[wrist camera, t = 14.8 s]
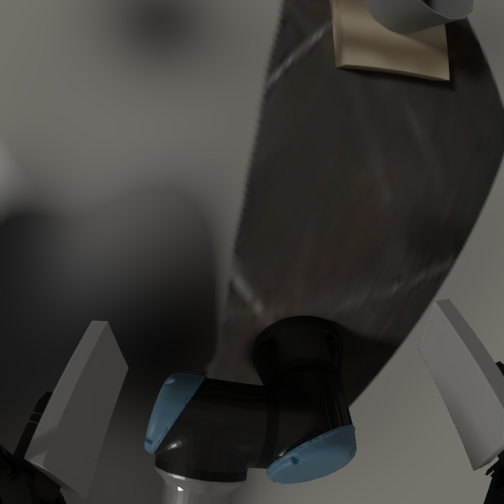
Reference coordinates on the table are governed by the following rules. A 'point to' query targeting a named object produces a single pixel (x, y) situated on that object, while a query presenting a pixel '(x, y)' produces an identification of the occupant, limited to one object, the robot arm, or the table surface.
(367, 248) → the table surface
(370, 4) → the cup
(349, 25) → the oak stand
